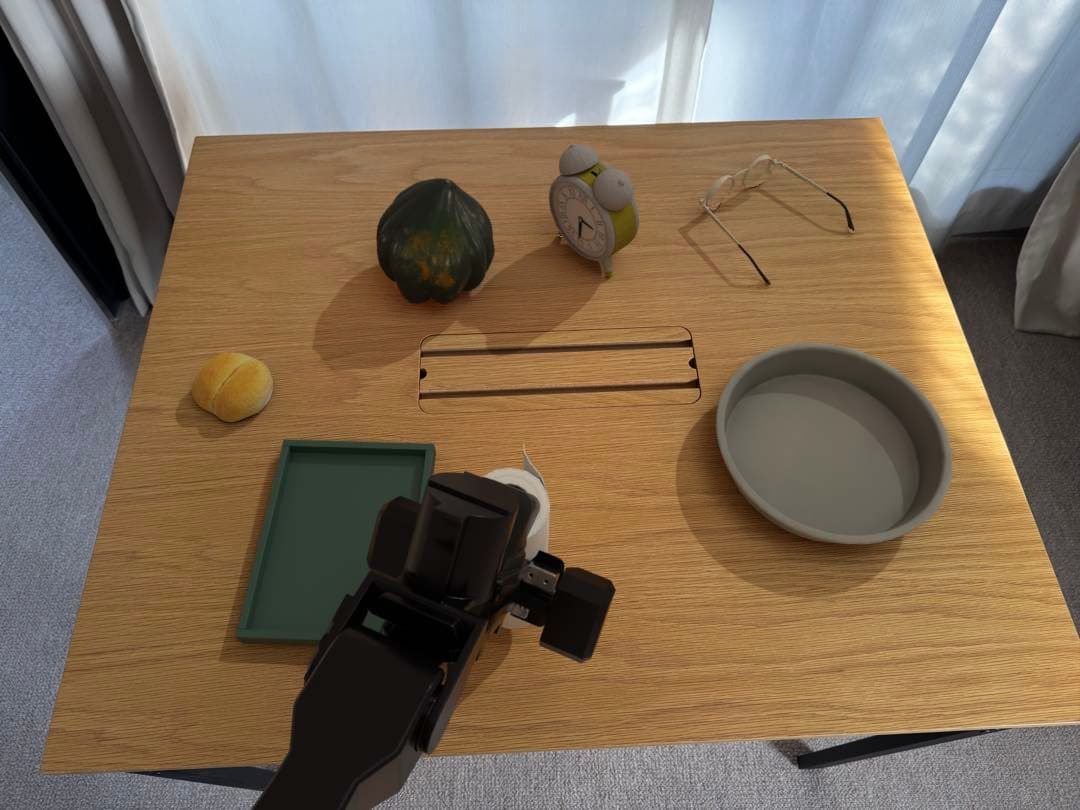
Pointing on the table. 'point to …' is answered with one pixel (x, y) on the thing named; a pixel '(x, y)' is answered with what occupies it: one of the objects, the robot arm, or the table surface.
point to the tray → (323, 533)
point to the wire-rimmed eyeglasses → (768, 171)
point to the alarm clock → (593, 205)
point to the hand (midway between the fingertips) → (520, 540)
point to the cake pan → (833, 444)
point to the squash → (435, 242)
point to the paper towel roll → (539, 532)
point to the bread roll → (232, 386)
